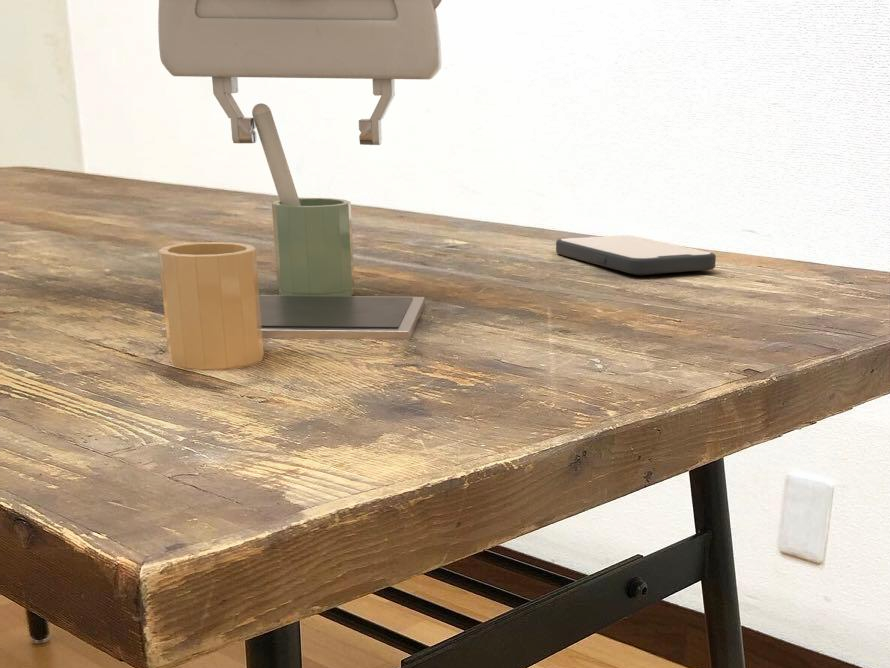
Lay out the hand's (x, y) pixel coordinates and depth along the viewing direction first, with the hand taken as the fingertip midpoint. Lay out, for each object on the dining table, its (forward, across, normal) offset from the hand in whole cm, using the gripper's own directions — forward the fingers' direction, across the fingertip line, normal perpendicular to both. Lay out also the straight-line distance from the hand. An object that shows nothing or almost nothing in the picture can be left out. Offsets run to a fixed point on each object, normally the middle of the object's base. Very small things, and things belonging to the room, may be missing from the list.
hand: (307, 143), depth 93 cm
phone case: (+11, -26, -17) cm, 33 cm away
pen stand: (+11, +2, +24) cm, 27 cm away
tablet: (+11, -1, +12) cm, 16 cm away
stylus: (+11, 0, 0) cm, 11 cm away
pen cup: (+11, 0, 0) cm, 11 cm away
